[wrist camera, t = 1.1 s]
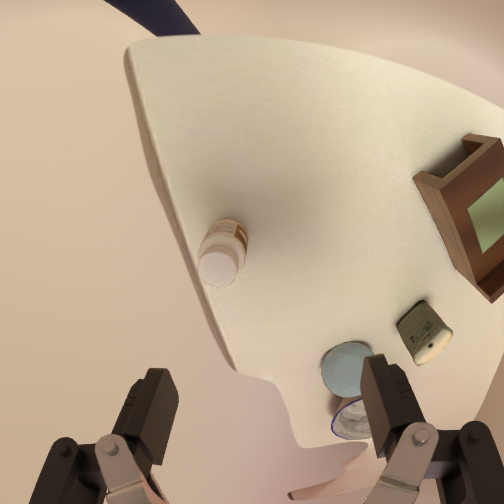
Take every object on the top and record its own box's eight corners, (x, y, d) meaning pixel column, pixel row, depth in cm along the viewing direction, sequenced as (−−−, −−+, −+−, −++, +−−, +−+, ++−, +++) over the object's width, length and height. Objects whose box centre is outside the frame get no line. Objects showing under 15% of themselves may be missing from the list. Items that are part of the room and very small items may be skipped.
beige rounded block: (403, 293, 34) (429, 331, 27) (435, 295, 34) (463, 331, 27) (390, 330, 36) (410, 370, 29) (420, 330, 36) (443, 368, 29)
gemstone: (379, 388, 37) (381, 392, 32) (327, 398, 39) (323, 403, 34) (372, 338, 40) (373, 335, 35) (321, 348, 42) (316, 347, 37)
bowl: (312, 397, 42) (315, 422, 37) (386, 357, 38) (395, 380, 34) (348, 427, 46) (352, 448, 41) (411, 394, 42) (419, 415, 38)
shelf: (412, 178, 28) (456, 198, 20) (468, 133, 26) (519, 141, 17) (454, 268, 32) (491, 304, 24) (502, 225, 30) (544, 251, 21)
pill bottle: (249, 256, 33) (244, 292, 26) (209, 256, 33) (194, 293, 26) (247, 217, 31) (241, 245, 24) (205, 218, 31) (188, 246, 24)
